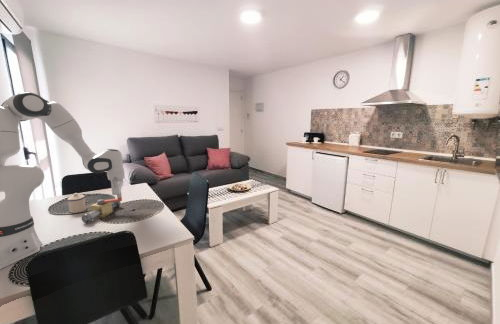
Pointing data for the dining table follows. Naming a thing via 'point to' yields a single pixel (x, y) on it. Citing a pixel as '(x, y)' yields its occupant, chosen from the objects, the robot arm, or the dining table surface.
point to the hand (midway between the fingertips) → (119, 197)
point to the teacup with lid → (77, 203)
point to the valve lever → (109, 200)
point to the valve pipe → (100, 211)
